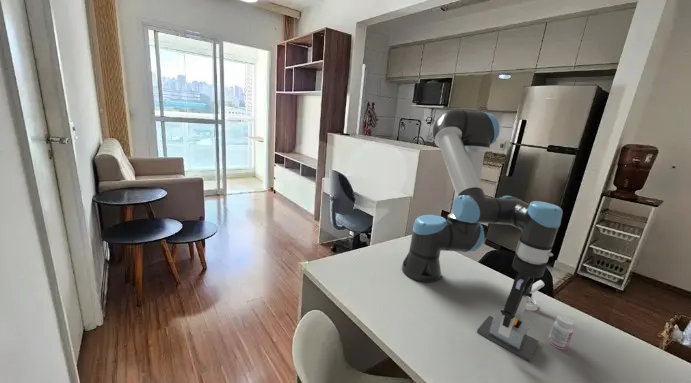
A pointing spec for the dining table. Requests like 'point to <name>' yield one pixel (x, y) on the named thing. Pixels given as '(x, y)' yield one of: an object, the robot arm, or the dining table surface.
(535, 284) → the vr controller
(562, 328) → the pill bottle
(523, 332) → the grey square socket block
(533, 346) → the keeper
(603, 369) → the dining table surface
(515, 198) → the robot arm
